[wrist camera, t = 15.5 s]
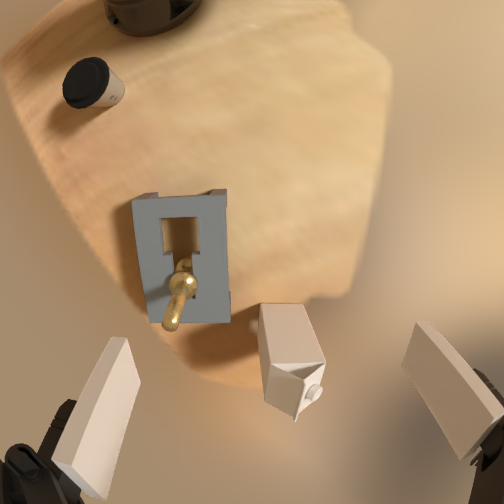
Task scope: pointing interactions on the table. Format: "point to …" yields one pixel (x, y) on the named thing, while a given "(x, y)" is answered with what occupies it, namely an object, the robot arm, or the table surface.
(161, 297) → the keyhole plate
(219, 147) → the table surface
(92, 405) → the robot arm
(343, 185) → the table surface
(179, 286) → the brass t bolt
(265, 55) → the table surface
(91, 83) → the coffee cup
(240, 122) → the table surface
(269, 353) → the milk carton
